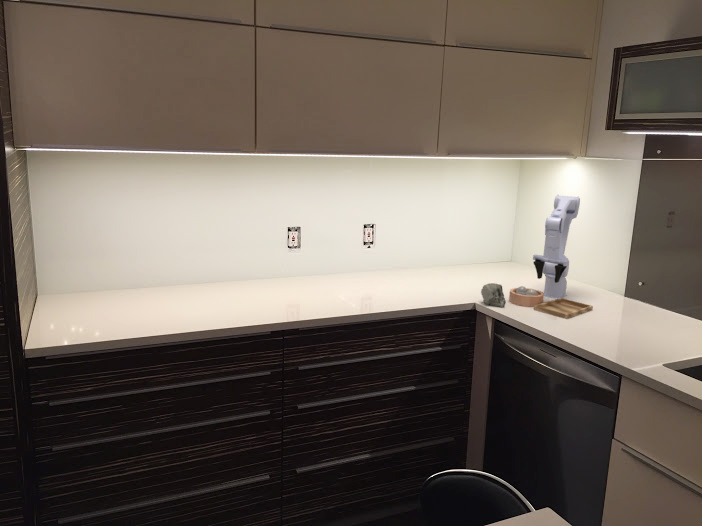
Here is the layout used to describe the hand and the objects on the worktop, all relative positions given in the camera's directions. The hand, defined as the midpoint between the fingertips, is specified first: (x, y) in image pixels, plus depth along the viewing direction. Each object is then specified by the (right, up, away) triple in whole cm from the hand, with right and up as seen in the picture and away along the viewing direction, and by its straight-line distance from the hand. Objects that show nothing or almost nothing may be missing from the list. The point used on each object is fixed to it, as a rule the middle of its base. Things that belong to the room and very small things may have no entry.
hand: (548, 280), depth 244 cm
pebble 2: (-7, -9, +2) cm, 11 cm away
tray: (+4, -12, -5) cm, 14 cm away
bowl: (-8, -10, +4) cm, 13 cm away
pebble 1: (-9, -8, +5) cm, 14 cm away
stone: (-22, -10, 0) cm, 24 cm away
